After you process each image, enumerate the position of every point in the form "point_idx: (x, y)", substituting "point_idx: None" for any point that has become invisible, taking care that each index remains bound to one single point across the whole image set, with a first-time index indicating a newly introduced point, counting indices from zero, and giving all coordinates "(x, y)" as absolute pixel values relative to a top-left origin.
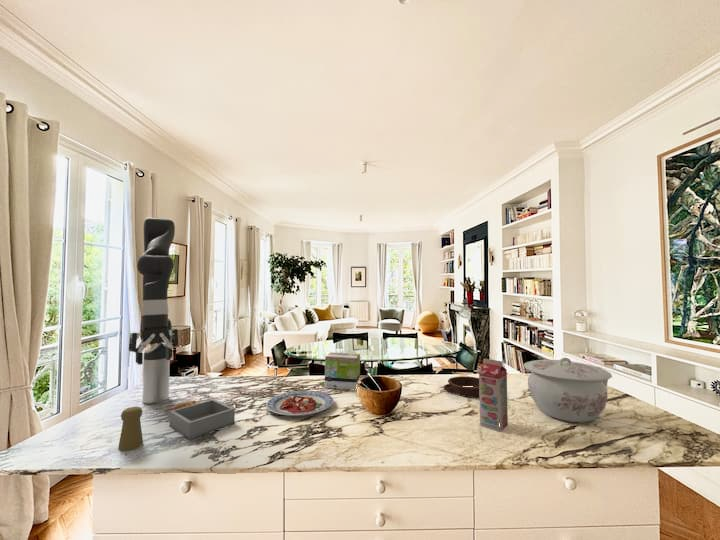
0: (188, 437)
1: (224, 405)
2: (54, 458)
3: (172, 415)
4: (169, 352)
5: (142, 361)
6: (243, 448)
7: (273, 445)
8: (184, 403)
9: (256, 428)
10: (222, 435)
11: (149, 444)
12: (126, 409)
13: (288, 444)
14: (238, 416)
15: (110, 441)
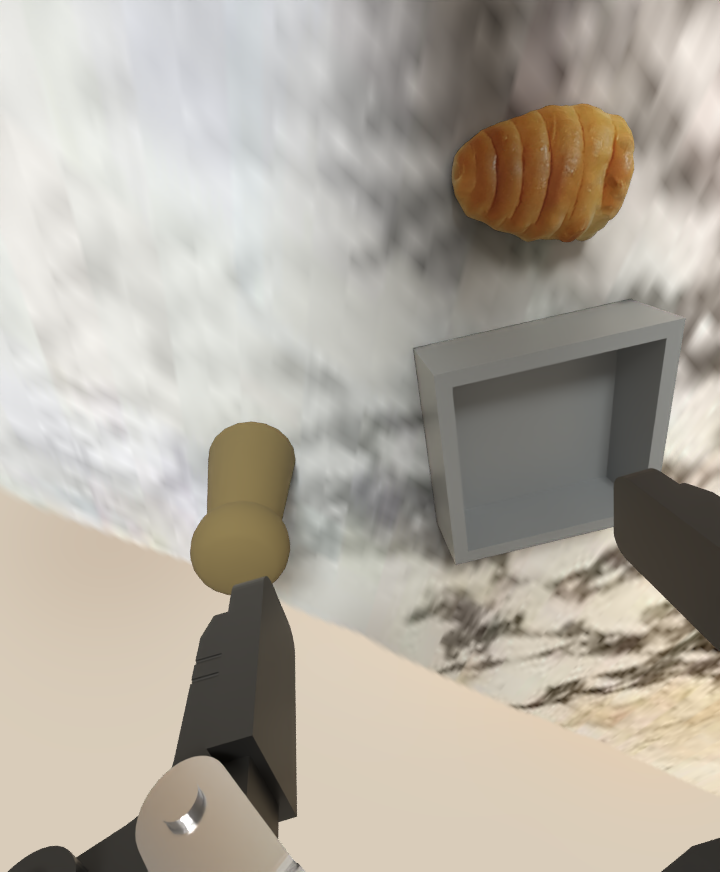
0: (438, 522)
1: (653, 456)
2: None
3: (433, 406)
4: (712, 628)
5: (293, 674)
6: (529, 637)
7: (589, 654)
8: (561, 178)
9: None
10: None
11: (315, 484)
12: (211, 572)
13: (615, 664)
14: None
15: (167, 364)
